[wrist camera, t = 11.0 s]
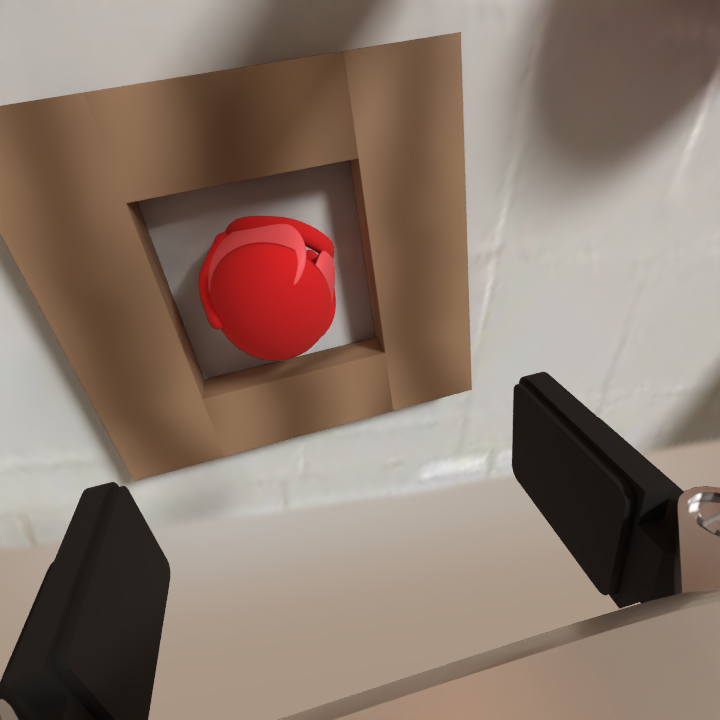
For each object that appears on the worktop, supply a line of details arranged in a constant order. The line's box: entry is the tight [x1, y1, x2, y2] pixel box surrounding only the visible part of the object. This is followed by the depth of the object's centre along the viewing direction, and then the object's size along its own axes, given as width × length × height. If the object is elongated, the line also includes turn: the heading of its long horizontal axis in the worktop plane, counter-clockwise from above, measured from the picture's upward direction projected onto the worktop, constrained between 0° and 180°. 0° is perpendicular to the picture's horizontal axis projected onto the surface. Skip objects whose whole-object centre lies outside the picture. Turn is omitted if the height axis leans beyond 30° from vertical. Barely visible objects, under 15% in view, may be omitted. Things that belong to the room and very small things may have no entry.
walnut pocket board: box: [0, 32, 472, 481], centre depth 23 cm, size 20×18×2 cm
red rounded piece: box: [198, 216, 336, 361], centre depth 22 cm, size 8×6×6 cm
